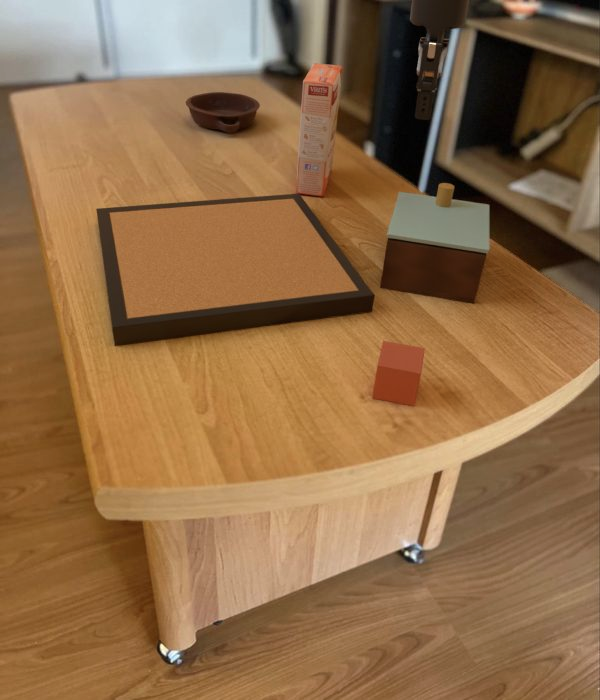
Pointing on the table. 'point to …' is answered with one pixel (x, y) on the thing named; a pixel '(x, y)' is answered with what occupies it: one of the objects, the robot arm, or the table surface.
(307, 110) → the cracker box
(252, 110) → the dish
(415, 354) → the block
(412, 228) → the glass top
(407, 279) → the case
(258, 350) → the table surface
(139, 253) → the cork board
